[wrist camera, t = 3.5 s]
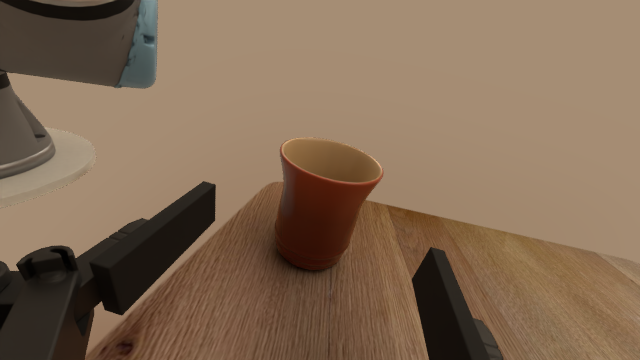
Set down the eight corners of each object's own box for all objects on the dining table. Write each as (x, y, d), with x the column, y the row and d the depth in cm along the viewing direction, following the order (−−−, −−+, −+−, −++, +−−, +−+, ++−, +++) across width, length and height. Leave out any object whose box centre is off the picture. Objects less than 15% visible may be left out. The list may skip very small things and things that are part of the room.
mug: (332, 300, 20) (372, 199, 15) (246, 254, 22) (257, 152, 17) (364, 225, 30) (394, 150, 25) (304, 198, 32) (320, 125, 27)
